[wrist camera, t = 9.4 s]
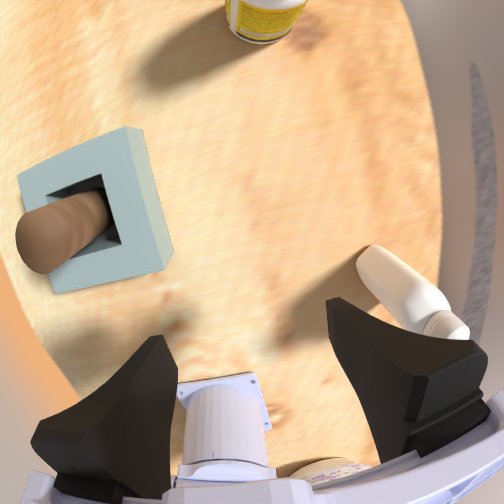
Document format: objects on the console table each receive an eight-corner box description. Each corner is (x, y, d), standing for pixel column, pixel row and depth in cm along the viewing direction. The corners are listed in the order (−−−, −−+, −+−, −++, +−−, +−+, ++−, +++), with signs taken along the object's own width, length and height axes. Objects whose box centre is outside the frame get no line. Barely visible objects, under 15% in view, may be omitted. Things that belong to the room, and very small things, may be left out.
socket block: (174, 250, 21) (164, 269, 18) (75, 274, 21) (56, 294, 18) (142, 129, 18) (125, 126, 15) (42, 169, 18) (16, 175, 15)
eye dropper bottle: (397, 232, 22) (502, 300, 11) (403, 290, 24) (485, 372, 13) (351, 249, 22) (442, 337, 11) (361, 307, 24) (432, 405, 13)
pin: (123, 226, 19) (70, 269, 12) (86, 234, 19) (26, 277, 12) (114, 182, 18) (52, 204, 11) (77, 192, 18) (9, 218, 11)
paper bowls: (383, 455, 35) (399, 491, 28) (312, 494, 38) (320, 528, 31) (331, 436, 31) (348, 486, 23) (250, 480, 34) (254, 524, 26)
